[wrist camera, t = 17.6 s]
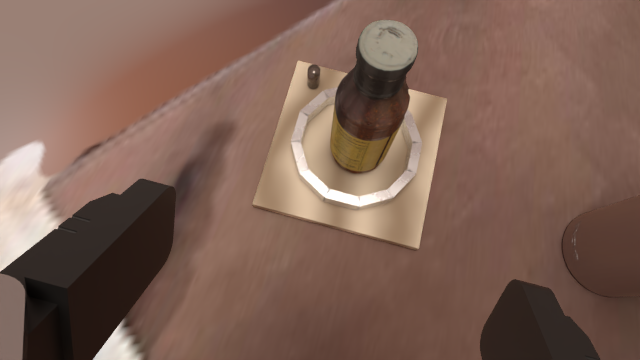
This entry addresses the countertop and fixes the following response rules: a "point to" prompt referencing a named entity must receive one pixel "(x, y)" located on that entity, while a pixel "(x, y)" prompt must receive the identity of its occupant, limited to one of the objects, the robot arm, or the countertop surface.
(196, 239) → the countertop surface
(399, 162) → the maple board
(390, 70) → the sauce bottle
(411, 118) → the white segmented ring
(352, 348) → the countertop surface
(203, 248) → the countertop surface
